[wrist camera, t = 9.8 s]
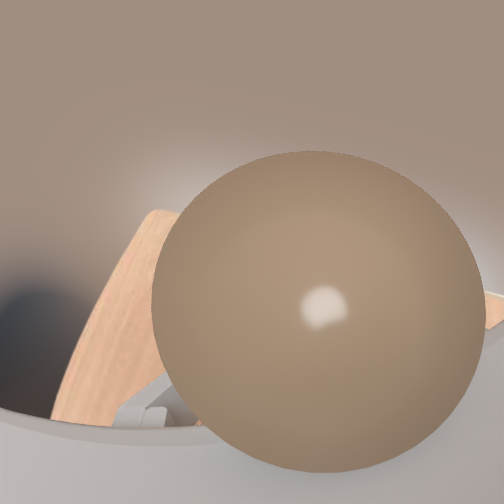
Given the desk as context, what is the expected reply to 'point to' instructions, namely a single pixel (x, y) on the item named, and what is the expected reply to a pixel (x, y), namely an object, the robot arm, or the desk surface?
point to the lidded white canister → (318, 311)
